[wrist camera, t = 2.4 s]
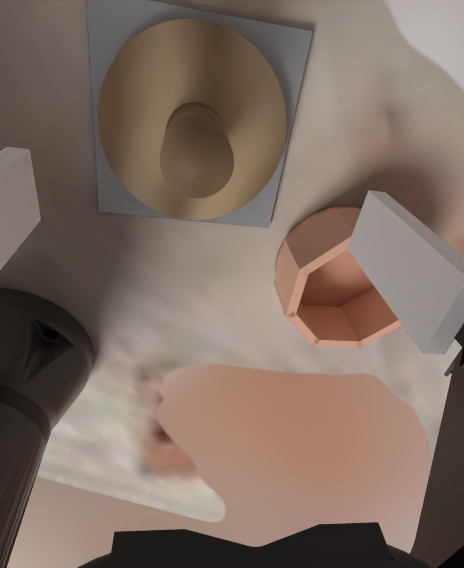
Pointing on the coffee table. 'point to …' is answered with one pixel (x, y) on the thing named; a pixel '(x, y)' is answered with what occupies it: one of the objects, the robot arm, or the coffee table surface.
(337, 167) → the coffee table surface
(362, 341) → the bowl
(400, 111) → the coffee table surface
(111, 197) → the mat
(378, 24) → the coffee table surface
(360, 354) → the coffee table surface
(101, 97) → the lid
